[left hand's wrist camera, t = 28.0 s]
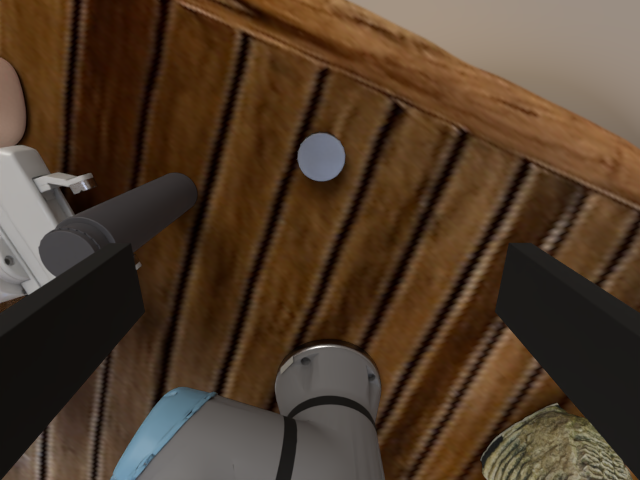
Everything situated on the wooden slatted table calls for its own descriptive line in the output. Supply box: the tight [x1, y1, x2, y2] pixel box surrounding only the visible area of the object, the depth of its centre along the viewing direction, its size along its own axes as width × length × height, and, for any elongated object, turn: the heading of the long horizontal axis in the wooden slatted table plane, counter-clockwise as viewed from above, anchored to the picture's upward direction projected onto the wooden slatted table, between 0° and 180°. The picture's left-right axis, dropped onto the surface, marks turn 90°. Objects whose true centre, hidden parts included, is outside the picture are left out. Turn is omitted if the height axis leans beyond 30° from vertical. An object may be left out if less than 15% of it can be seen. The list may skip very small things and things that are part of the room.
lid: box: [297, 131, 346, 181], centre depth 40 cm, size 5×5×2 cm
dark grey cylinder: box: [38, 173, 197, 277], centre depth 33 cm, size 5×5×20 cm
